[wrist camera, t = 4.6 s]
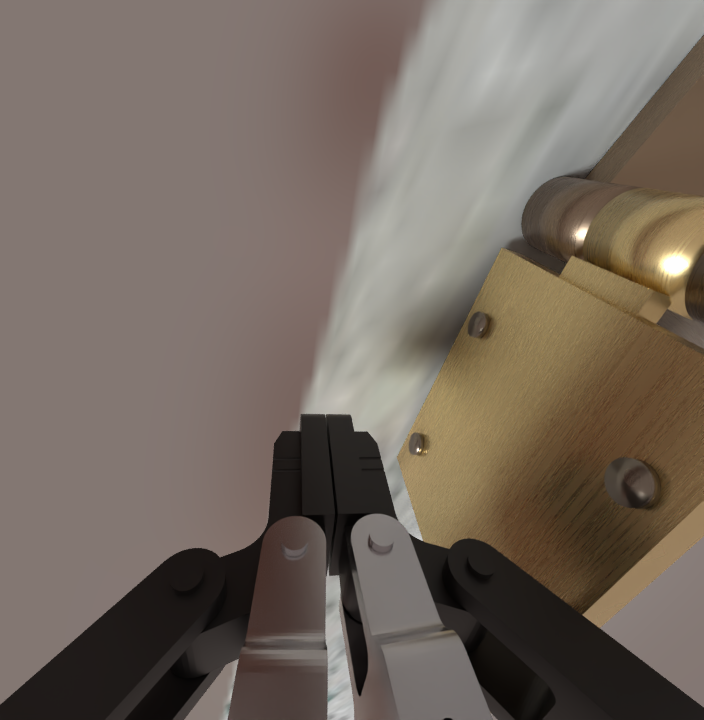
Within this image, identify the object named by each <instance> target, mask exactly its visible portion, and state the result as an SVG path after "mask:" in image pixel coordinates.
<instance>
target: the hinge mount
mask: <svg viewBox="0 0 704 720" xmlns="http://www.w3.org/2000/svg"><path fill="white" fill-rule="evenodd" d="M637 188H650V189H657V190H664V191H671V192H678V193H685V194H692V195H699V196H704V35H703V36H702V38H701V39H700V40H699V41H698V42H697V44H696V45H695V46H694V47H693V48H692V50H691V51H690V52H689V53H688V55H687V56H686V57H685V58H684V59H683V61H682V62H681V63H680V64H679V65H678V67H677V68H676V69H675V70H674V72H673V73H672V74H671V75H670V76H669V78H668V79H667V80H666V81H665V82H664V84H663V85H662V86H661V87H660V89H659V90H658V91H657V92H656V93H655V95H654V96H653V97H652V98H651V99H650V101H649V102H648V103H647V104H646V106H645V107H644V108H643V109H642V110H641V112H640V113H639V114H638V115H637V116H636V118H635V119H634V120H633V121H632V123H631V124H630V125H629V126H628V127H627V129H626V130H625V131H624V132H623V133H622V135H621V136H620V137H619V138H618V139H617V141H616V142H615V143H614V144H613V146H612V147H611V148H610V149H609V150H608V152H607V153H606V154H605V155H604V156H603V158H602V159H601V160H600V161H599V163H598V164H597V165H596V166H595V167H594V169H593V170H592V171H591V172H590V173H589V175H588V176H587V177H586V178H585V179H580V178H573V177H558V178H555V179H552V180H550V181H548V182H546V183H545V184H543V185H542V186H541V187H539V188H538V189H537V190H536V191H535V192H534V194H533V195H532V196H531V197H530V199H529V201H528V202H527V204H526V206H525V209H524V212H523V215H522V223H521V225H522V233H523V236H524V238H525V240H526V241H527V242H528V243H529V244H530V245H531V246H532V247H534V248H536V249H538V250H540V251H543V252H545V253H547V254H549V255H551V256H553V257H556V258H558V259H560V260H562V261H564V262H566V263H568V261H569V259H570V258H571V256H574V257H577V258H580V259H583V244H584V239H585V236H586V233H587V230H588V228H589V226H590V224H591V222H592V221H593V219H594V218H595V216H596V215H597V214H598V213H599V211H600V210H601V209H602V208H603V207H604V206H605V205H606V204H607V203H609V202H610V201H611V200H612V199H614V198H615V197H617V196H618V195H620V194H622V193H624V192H626V191H629V190H632V189H637ZM583 260H584V259H583ZM685 307H686V310H687V312H688V314H689V316H690V317H691V318H692V319H693V320H691V319H688V318H686V317H683V316H681V315H679V314H677V313H675V312H673V311H670V310H668V309H667V310H666V311H665V313H664V314H663V315H662V317H661V318H660V319H659V321H658V322H657V324H658V325H660V326H661V327H663V328H665V329H667V330H669V331H671V332H673V333H674V334H676V335H678V336H680V337H682V338H684V339H686V340H688V341H690V342H692V343H694V344H696V345H698V346H700V347H701V348H703V349H704V253H703V254H702V256H701V257H700V259H699V260H698V262H697V263H696V265H695V267H694V269H693V270H692V273H691V275H690V277H689V280H688V283H687V286H686V291H685Z"/></svg>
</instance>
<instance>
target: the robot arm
mask: <svg viewBox="0 0 704 720" xmlns="http://www.w3.org/2000/svg"><path fill="white" fill-rule="evenodd" d="M328 566H329V576H333V575H339V577H340V588H341V594H340V600H339V612H340V618H341V624H342V631H343V637H344V643H345V650H346V656H347V662H348V668H349V675H350V681H351V687H352V694H353V701H354V720H493V718H492V716H491V713H492V714H493V715H494V716H495V717H496V718H497V719H498V720H704V707H702V706H701V705H700V704H698V703H697V702H696V701H694V700H693V699H692V698H690V697H689V696H688V695H686V694H685V693H684V692H683V691H681V690H680V689H679V688H677V687H676V686H675V685H673V684H672V683H671V682H669V681H668V680H667V679H666V678H664V677H663V676H661V675H660V674H659V673H658V672H656V671H655V670H654V669H652V668H651V667H650V666H648V665H647V664H646V663H645V662H643V661H642V660H640V659H639V658H638V657H637V656H635V655H634V654H633V653H631V652H630V651H629V650H627V649H626V648H625V647H624V646H622V645H621V644H619V643H618V642H617V641H615V640H614V639H613V638H612V637H610V636H609V635H608V634H606V633H605V632H603V630H601V629H600V628H599V627H597V626H596V625H595V624H593V623H592V622H591V621H589V620H588V619H587V618H585V617H584V616H583V615H582V614H580V613H579V612H578V611H576V610H575V609H574V608H572V607H571V606H570V605H568V604H567V603H566V602H564V601H563V600H562V599H561V598H559V597H558V596H557V595H555V594H554V593H553V592H551V591H550V590H549V589H547V588H546V587H545V586H543V585H542V584H541V583H540V582H538V581H537V580H536V579H534V578H533V577H532V576H530V575H529V574H528V573H526V572H525V571H524V570H522V569H521V568H520V567H519V566H517V565H516V564H515V563H513V562H512V561H511V560H509V559H508V558H507V557H505V556H504V555H503V554H501V553H500V552H499V551H498V550H496V549H495V548H494V547H492V546H491V545H489V544H487V543H485V542H483V541H480V540H477V539H470V538H467V539H461V540H459V541H457V542H455V543H454V544H453V545H452V546H451V548H450V549H448V548H445V547H441V546H437V545H434V544H430V543H426V542H424V541H421V540H419V539H417V538H415V537H413V536H412V535H411V534H409V533H408V531H407V530H406V528H405V527H404V526H403V525H402V524H401V523H400V522H399V521H398V519H397V517H396V514H395V510H394V506H393V502H392V498H391V495H390V491H389V487H388V483H387V479H386V475H385V472H384V468H383V464H382V460H381V456H380V452H379V449H378V445H377V443H376V442H375V440H374V439H373V438H372V437H371V435H370V434H369V433H368V432H354V429H353V423H352V418H351V415H341V414H326V418H325V414H301V417H300V431H282V433H281V434H280V436H279V437H278V439H277V440H276V442H275V443H274V454H273V468H272V480H271V493H270V506H269V518H268V523H267V526H266V528H265V530H264V532H263V533H262V535H261V536H260V537H259V538H258V539H257V540H256V541H255V542H254V543H252V544H251V545H250V546H248V547H246V548H245V549H242V550H240V551H237V552H234V553H231V554H228V555H226V556H223V557H219V556H218V555H217V554H216V553H214V552H212V551H210V550H207V549H202V548H192V549H188V550H184V551H181V552H179V553H176V554H174V555H173V556H171V557H170V558H169V559H167V560H166V561H164V562H163V563H162V564H161V565H160V566H159V567H157V569H155V570H154V571H153V572H152V573H151V574H150V575H148V576H147V577H146V578H145V579H144V580H143V581H142V582H140V583H139V584H138V585H137V586H136V587H135V588H133V589H132V590H131V591H130V592H129V593H128V594H127V595H125V597H123V598H122V599H121V600H120V601H119V602H117V603H116V604H115V605H114V606H113V607H112V608H111V609H109V610H108V611H107V612H106V613H105V614H104V615H103V616H102V617H100V618H99V619H98V620H97V621H96V622H95V623H93V624H92V625H91V626H90V627H89V628H88V629H87V630H85V631H84V632H83V633H82V634H81V635H80V636H78V637H77V638H76V639H75V640H74V641H73V642H72V643H70V644H69V645H68V646H67V647H66V648H65V649H64V650H63V651H61V652H60V653H59V654H58V655H57V656H56V657H54V658H53V659H52V660H51V661H50V662H49V663H48V664H46V665H45V666H44V667H43V668H42V669H41V670H40V671H38V672H37V673H36V674H35V675H34V676H33V677H32V678H30V679H29V680H28V681H27V682H26V683H25V684H24V685H22V686H21V687H20V688H19V689H18V690H17V691H15V692H14V693H13V694H12V695H11V696H10V697H9V698H7V699H6V700H5V701H4V702H3V703H2V704H1V705H0V720H184V719H185V718H186V716H187V715H188V714H189V712H190V711H191V710H192V709H193V707H194V706H195V705H196V703H197V702H198V701H199V699H200V698H201V697H202V696H203V694H204V693H205V692H206V690H207V689H208V688H209V687H210V685H211V684H212V683H213V681H214V680H215V679H216V677H217V676H218V675H219V674H220V672H221V671H222V670H223V668H224V667H225V665H226V664H228V663H230V662H232V661H234V660H237V659H239V660H238V665H237V670H236V676H235V681H234V687H233V692H232V698H231V704H230V709H229V715H228V720H327V694H328V658H327V645H326V641H325V616H326V576H327V569H328ZM490 712H491V713H490Z"/></svg>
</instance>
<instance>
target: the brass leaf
mask: <svg viewBox="0 0 704 720" xmlns="http://www.w3.org/2000/svg"><path fill="white" fill-rule="evenodd" d="M703 253H704V196H699V195H692V194H685V193H678V192H671V191H664V190H657V189H650V188H637V189H632V190H629V191H626V192H624V193H622V194H620V195H618V196H617V197H615V198H614V199H612V200H611V201H610V202H609V203H607V204H606V205H605V206H604V207H603V208H602V209H601V210H600V211H599V213H598V214H597V215H596V216H595V218H594V219H593V221H592V222H591V224H590V226H589V228H588V230H587V233H586V236H585V239H584V244H583V259H584V260H583V259H580V258H577V257H574V256H571V258H570V259H569V261H568V263H567V264H566V266H565V268H564V269H563V271H562V273H561V275H560V274H559V273H557V272H555V271H553V270H551V269H549V268H547V267H545V266H543V265H541V264H539V263H537V262H535V261H533V260H532V259H530V258H528V257H526V256H524V255H522V254H519V253H516V252H513V251H510V250H508V249H505V248H501V250H500V252H499V254H498V256H497V258H496V260H495V262H494V264H493V266H492V268H491V270H490V272H489V274H488V276H487V278H486V280H485V282H484V284H483V286H482V288H481V290H480V292H479V294H478V296H477V298H476V300H475V302H474V304H473V306H472V308H471V310H470V312H469V314H468V316H467V318H466V320H465V322H464V324H463V326H462V328H461V330H460V332H459V334H458V336H457V338H456V340H455V342H454V344H453V346H452V348H451V350H450V352H449V354H448V356H447V358H446V360H445V362H444V364H443V366H442V368H441V370H440V372H439V374H438V376H437V378H436V380H435V382H434V384H433V386H432V388H431V390H430V392H429V394H428V396H427V398H426V400H425V402H424V404H423V406H422V408H421V410H420V412H419V414H418V416H417V418H416V420H415V422H414V424H413V426H412V428H411V430H410V432H409V434H408V436H407V438H406V440H405V442H404V444H403V446H402V448H401V450H400V452H399V454H398V456H397V459H398V462H399V465H400V468H401V471H402V475H403V478H404V481H405V484H406V487H407V491H408V494H409V497H410V500H411V503H412V507H413V510H414V513H415V516H416V519H417V522H418V526H419V529H420V532H421V535H422V538H423V541H424V542H426V543H430V544H434V545H437V546H441V547H445V548H448V549H450V548H451V546H452V545H453V544H454V543H455V542H457V541H459V540H461V539H467V538H470V539H477V540H480V541H483V542H485V543H487V544H489V545H491V546H492V547H494V548H495V549H496V550H498V551H499V552H500V553H501V554H503V555H504V556H505V557H507V558H508V559H509V560H511V561H512V562H513V563H515V564H516V565H517V566H519V567H520V568H521V569H522V570H524V571H525V572H526V573H528V574H529V575H530V576H532V577H533V578H534V579H536V580H537V581H538V582H540V583H541V584H542V585H543V586H545V587H546V588H547V589H549V590H550V591H551V592H553V593H554V594H555V595H557V596H558V597H559V598H561V599H562V600H563V601H564V602H566V603H567V604H568V605H570V606H571V607H572V608H574V609H575V610H576V611H578V612H579V613H580V614H582V615H583V616H584V617H585V618H587V619H588V620H589V621H591V622H592V623H593V624H595V625H596V626H597V627H599V628H600V627H601V626H603V625H604V624H605V623H606V622H607V621H608V620H609V619H611V618H612V617H613V616H614V615H615V614H616V613H617V612H619V611H620V610H621V609H622V608H623V607H624V606H625V605H626V604H628V603H629V602H630V601H631V600H632V599H633V598H634V597H636V596H637V595H638V594H639V593H640V592H641V591H642V590H643V589H644V588H645V587H647V586H648V585H649V584H650V583H651V582H653V581H654V580H655V579H656V578H657V577H658V576H659V575H660V574H662V573H663V572H664V571H665V570H666V569H667V568H668V567H669V566H670V565H672V564H673V563H674V562H675V561H676V560H677V559H679V558H680V557H681V556H682V555H683V554H684V553H685V552H686V551H688V550H689V549H690V548H691V547H692V546H693V545H694V544H696V543H697V542H698V541H699V540H700V539H701V538H702V537H703V536H704V349H703V348H701V347H700V346H698V345H696V344H694V343H692V342H690V341H688V340H686V339H684V338H682V337H680V336H678V335H676V334H674V333H673V332H671V331H669V330H667V329H665V328H663V327H661V326H659V325H657V324H656V323H657V322H658V321H659V319H660V318H661V317H662V315H663V314H664V313H665V311H666V310H667V309H668V310H670V311H673V312H675V313H677V314H679V315H681V316H683V317H686V318H688V319H691V320H693V319H692V318H691V317H690V316H689V314H688V312H687V310H686V307H685V291H686V286H687V283H688V280H689V277H690V275H691V273H692V270H693V269H694V267H695V265H696V263H697V262H698V260H699V259H700V257H701V256H702V254H703ZM490 713H491V712H490Z"/></svg>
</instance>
